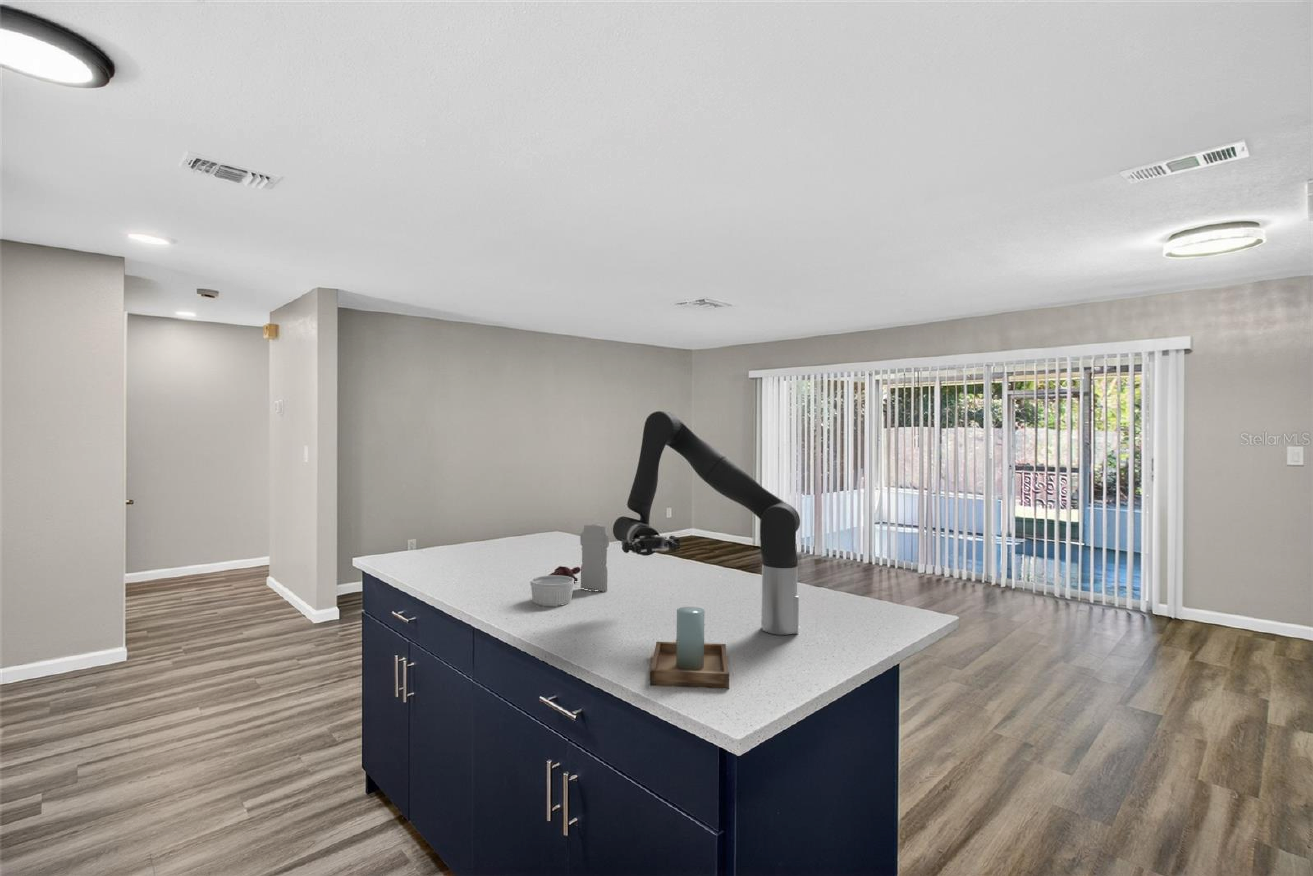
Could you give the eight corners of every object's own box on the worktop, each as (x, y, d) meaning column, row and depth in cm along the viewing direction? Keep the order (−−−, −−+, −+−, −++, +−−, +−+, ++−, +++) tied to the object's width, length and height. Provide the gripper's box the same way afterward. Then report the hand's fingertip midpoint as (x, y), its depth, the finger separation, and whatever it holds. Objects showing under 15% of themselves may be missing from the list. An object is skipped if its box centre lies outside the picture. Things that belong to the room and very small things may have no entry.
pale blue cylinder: (695, 659, 136) (696, 605, 136) (708, 668, 130) (709, 612, 130) (671, 663, 133) (672, 608, 133) (684, 672, 128) (684, 615, 128)
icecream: (553, 572, 198) (588, 569, 209) (540, 563, 203) (574, 561, 214) (548, 592, 198) (583, 588, 210) (535, 583, 203) (569, 579, 215)
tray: (725, 657, 140) (725, 644, 140) (729, 688, 122) (729, 674, 122) (656, 654, 141) (656, 641, 141) (649, 685, 123) (650, 670, 123)
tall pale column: (611, 590, 201) (611, 523, 201) (605, 593, 197) (606, 525, 197) (582, 587, 205) (583, 522, 205) (576, 590, 201) (577, 523, 201)
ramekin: (558, 594, 195) (559, 573, 195) (582, 603, 185) (582, 580, 185) (522, 601, 186) (522, 578, 186) (545, 610, 176) (545, 586, 176)
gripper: (616, 526, 159) (627, 535, 144) (668, 523, 163) (685, 531, 147) (616, 554, 159) (628, 566, 143) (669, 551, 163) (686, 562, 147)
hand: (657, 548), depth 145 cm, fingers open, 8 cm apart
